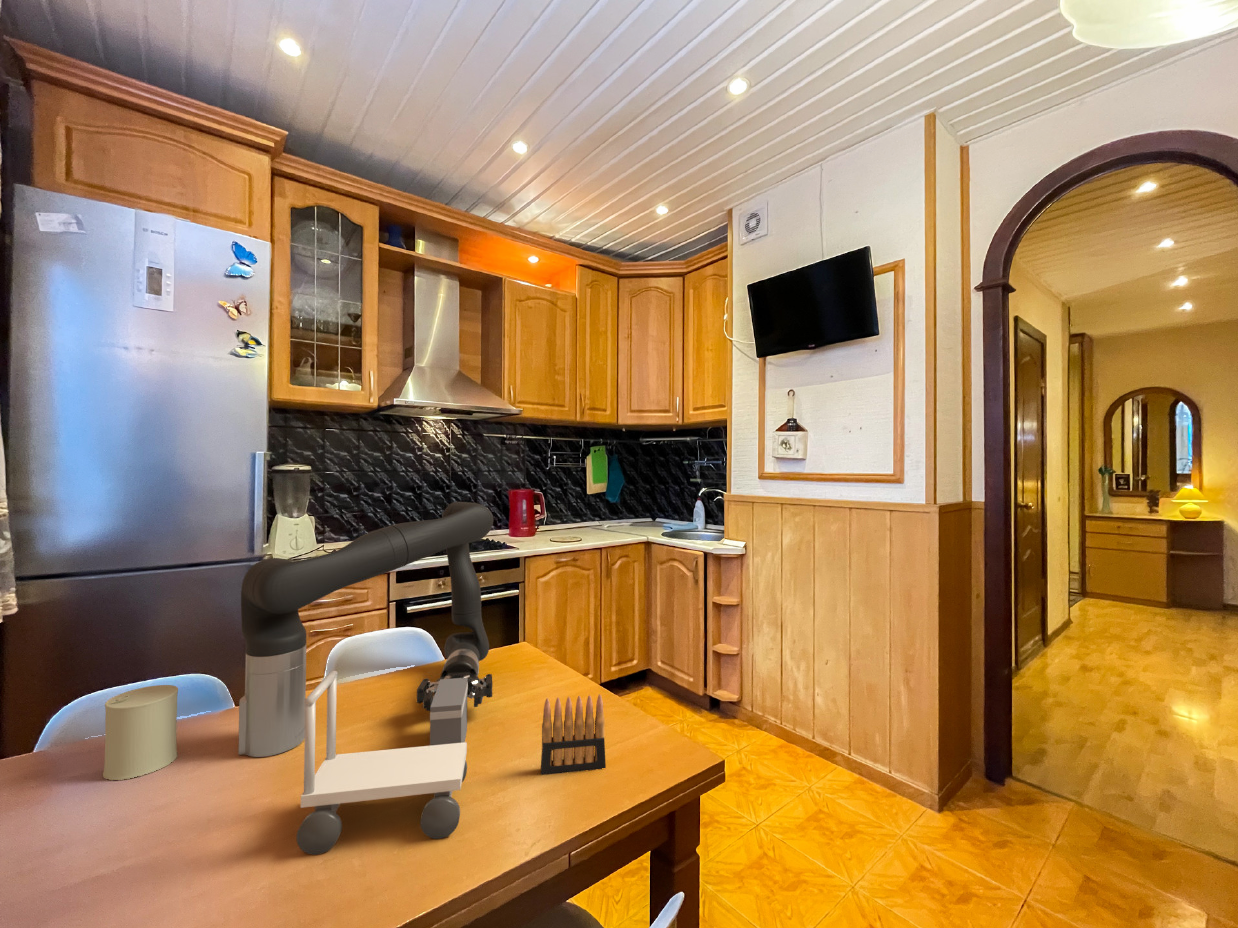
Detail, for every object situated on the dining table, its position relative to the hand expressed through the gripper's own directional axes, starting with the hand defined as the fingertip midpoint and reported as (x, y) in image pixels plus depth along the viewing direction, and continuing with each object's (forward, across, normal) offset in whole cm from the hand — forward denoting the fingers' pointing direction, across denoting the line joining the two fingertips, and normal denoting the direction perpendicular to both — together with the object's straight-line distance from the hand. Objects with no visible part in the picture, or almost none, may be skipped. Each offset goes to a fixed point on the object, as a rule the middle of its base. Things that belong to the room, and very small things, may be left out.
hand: (452, 703), depth 97 cm
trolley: (+22, -6, +6) cm, 23 cm away
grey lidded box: (+4, 0, +6) cm, 7 cm away
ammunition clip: (+15, +21, +6) cm, 26 cm away
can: (0, -50, +6) cm, 50 cm away
